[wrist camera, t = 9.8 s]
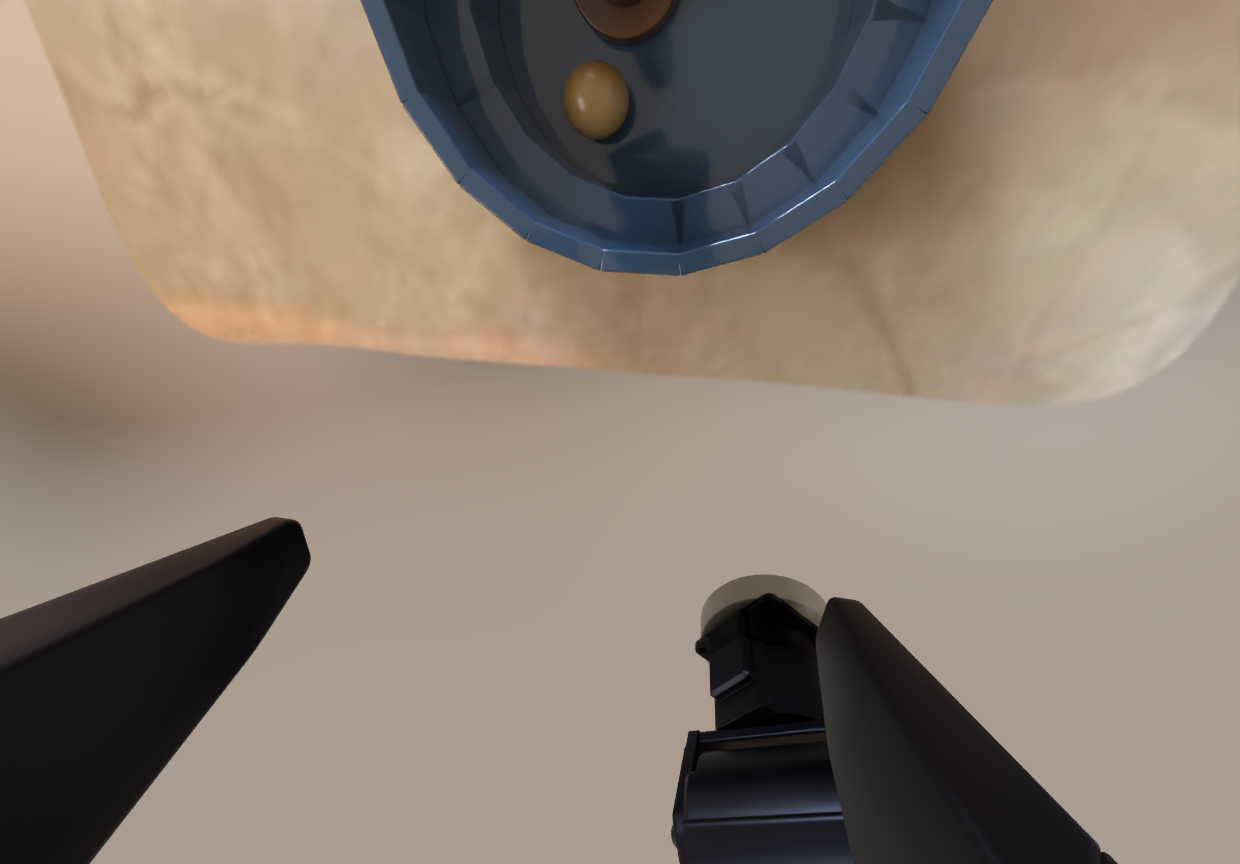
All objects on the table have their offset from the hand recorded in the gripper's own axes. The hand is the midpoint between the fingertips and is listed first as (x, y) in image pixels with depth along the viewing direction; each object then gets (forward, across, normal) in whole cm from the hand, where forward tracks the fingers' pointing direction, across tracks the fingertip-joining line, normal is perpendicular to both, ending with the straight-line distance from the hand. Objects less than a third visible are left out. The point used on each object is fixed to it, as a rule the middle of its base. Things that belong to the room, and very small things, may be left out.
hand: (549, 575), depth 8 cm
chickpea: (+11, +2, -8) cm, 14 cm away
